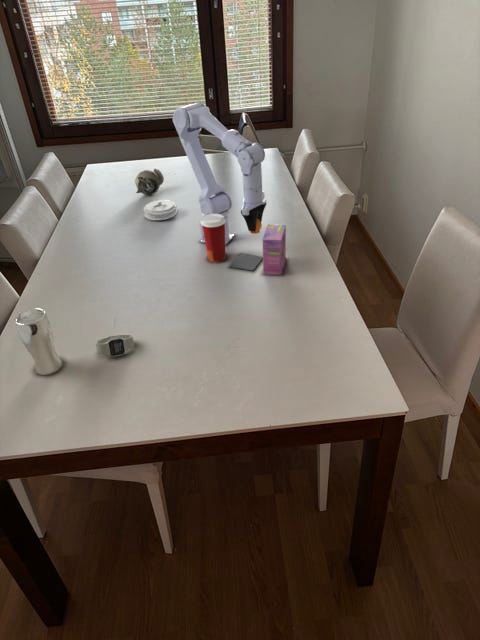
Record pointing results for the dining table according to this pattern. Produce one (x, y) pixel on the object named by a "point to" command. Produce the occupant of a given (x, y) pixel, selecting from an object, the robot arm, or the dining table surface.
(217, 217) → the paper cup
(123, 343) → the wristwatch
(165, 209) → the lid
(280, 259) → the box
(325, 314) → the dining table surface
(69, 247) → the dining table surface
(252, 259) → the felt pad
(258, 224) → the clementine
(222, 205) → the robot arm
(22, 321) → the beer glass
